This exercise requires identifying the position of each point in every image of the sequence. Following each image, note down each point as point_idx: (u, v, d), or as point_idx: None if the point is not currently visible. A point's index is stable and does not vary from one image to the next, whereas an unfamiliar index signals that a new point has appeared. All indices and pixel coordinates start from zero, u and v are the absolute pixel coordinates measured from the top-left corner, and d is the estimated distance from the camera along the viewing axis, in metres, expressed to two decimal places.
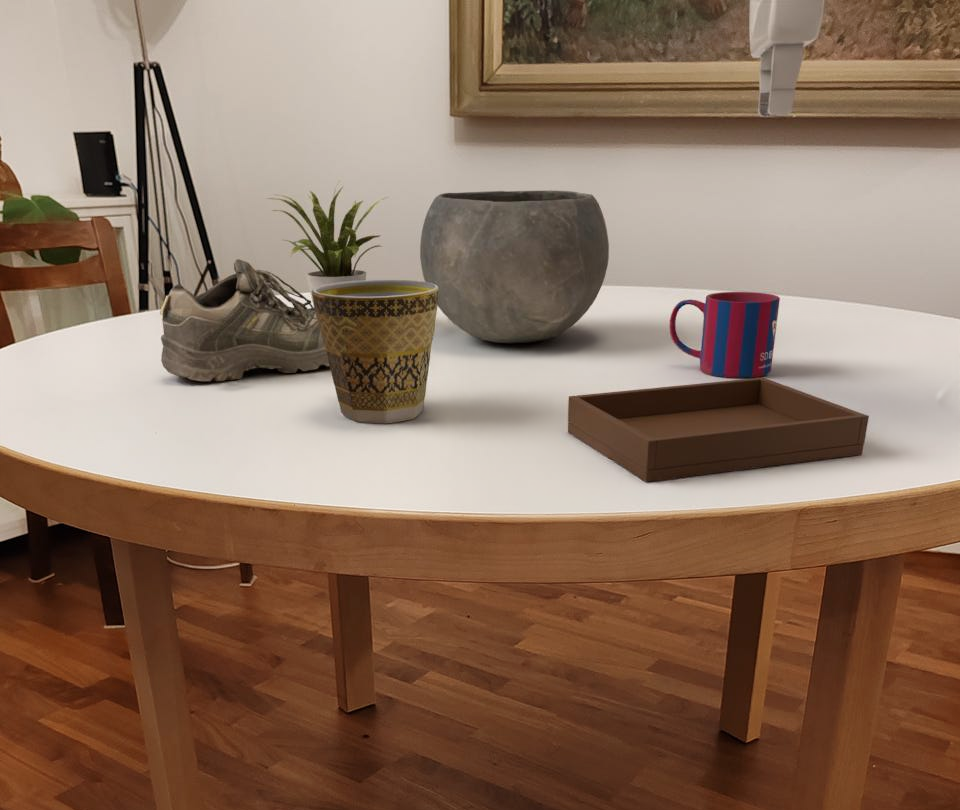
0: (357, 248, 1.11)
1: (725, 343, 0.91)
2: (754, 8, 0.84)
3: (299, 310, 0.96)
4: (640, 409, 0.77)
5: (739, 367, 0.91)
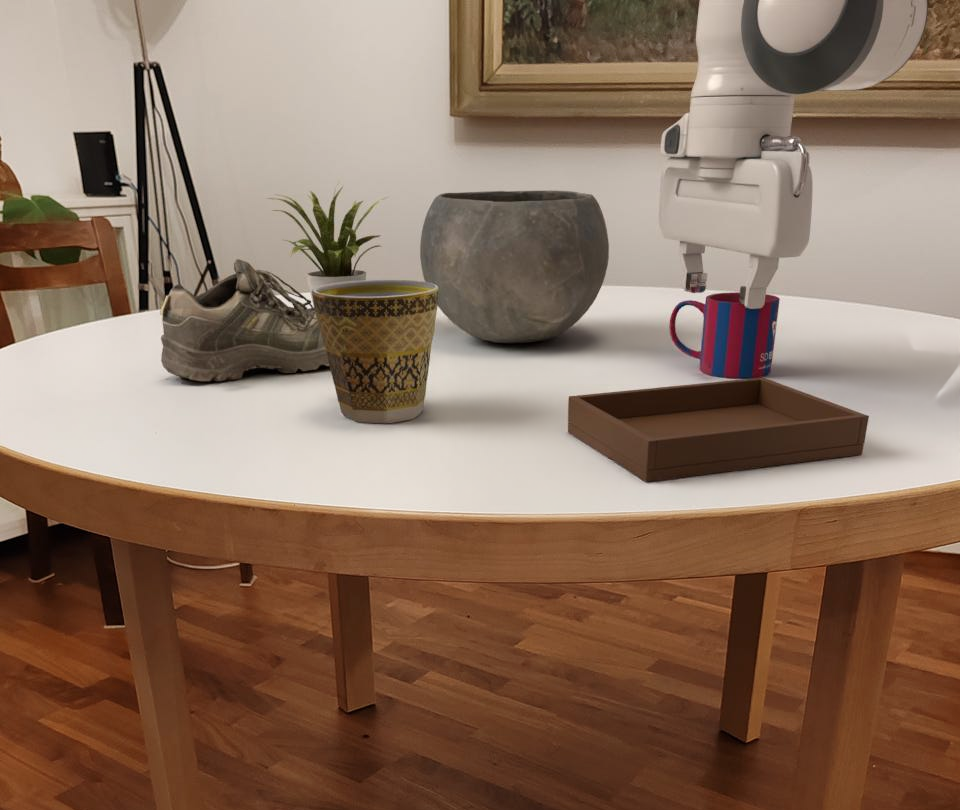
0: (357, 248, 1.11)
1: (725, 344, 0.91)
2: (669, 199, 0.95)
3: (299, 310, 0.96)
4: (640, 409, 0.77)
5: (739, 368, 0.91)
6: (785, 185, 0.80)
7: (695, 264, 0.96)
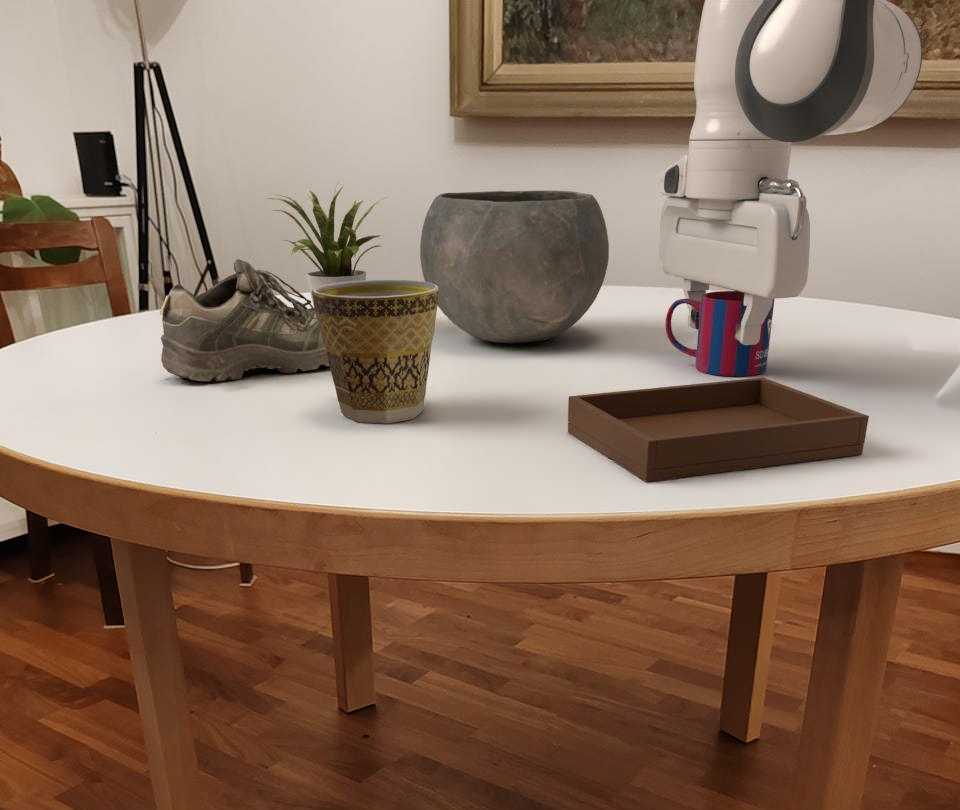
0: (357, 248, 1.11)
1: (721, 342, 0.92)
2: (669, 236, 0.97)
3: (299, 310, 0.96)
4: (640, 409, 0.77)
5: (735, 366, 0.92)
6: (783, 228, 0.81)
7: (699, 301, 0.97)
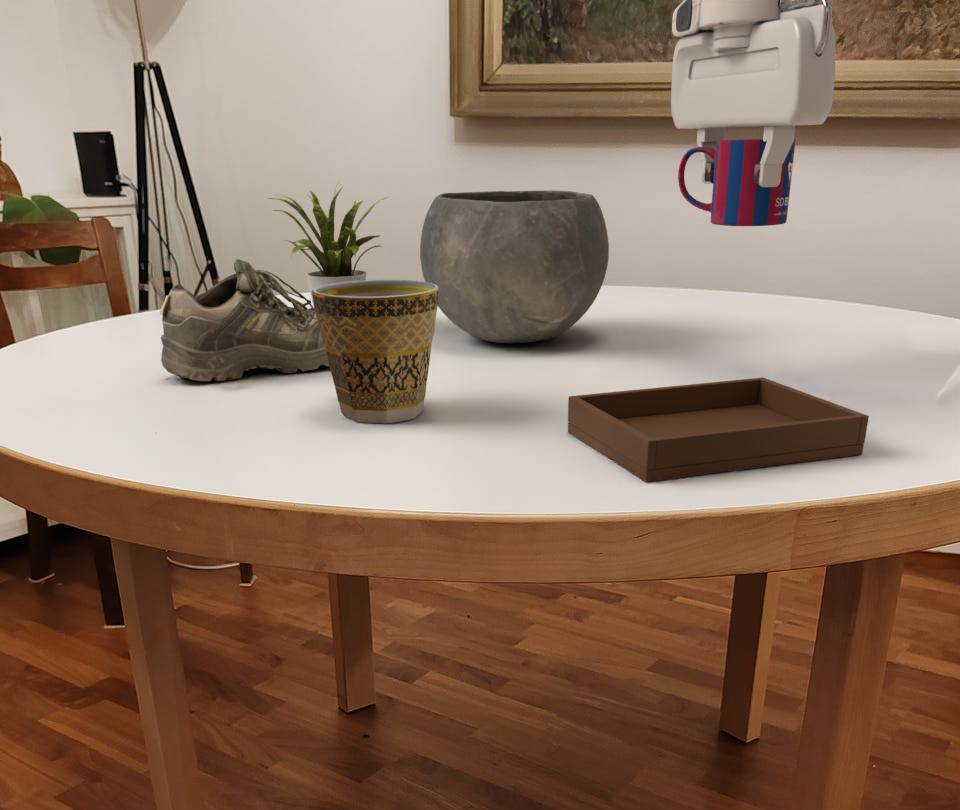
0: (357, 248, 1.11)
1: (738, 187, 0.86)
2: (681, 84, 0.91)
3: (299, 310, 0.96)
4: (640, 409, 0.77)
5: (753, 214, 0.86)
6: (806, 42, 0.75)
7: None
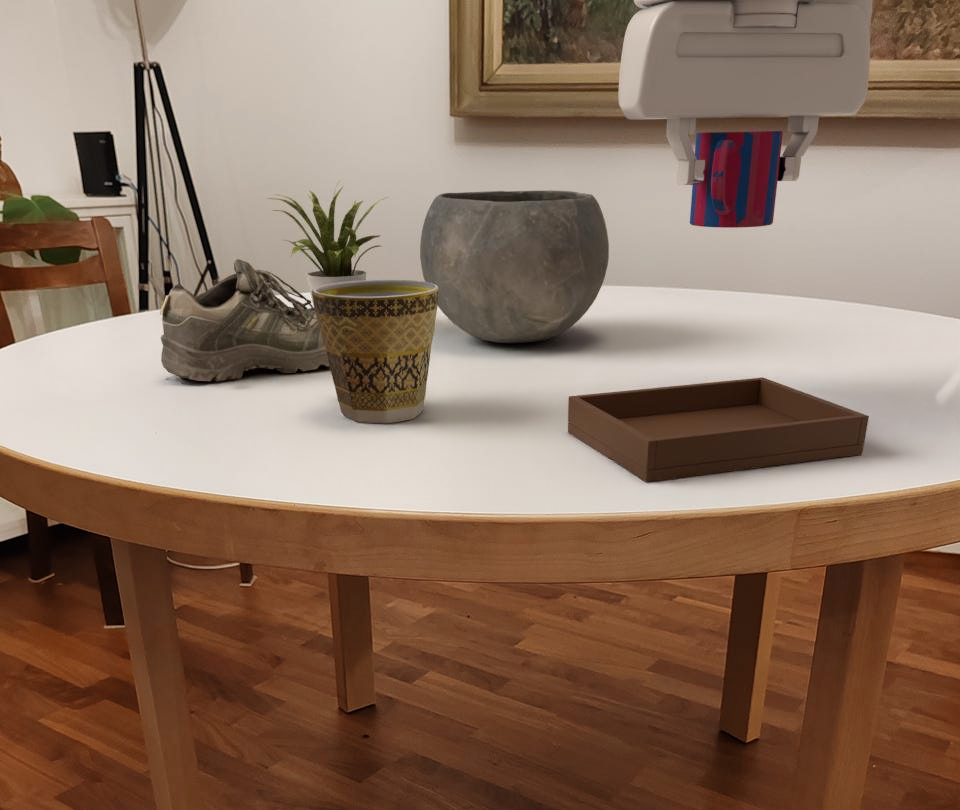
0: (357, 248, 1.11)
1: (774, 183, 0.78)
2: (664, 61, 0.71)
3: (299, 310, 0.96)
4: (640, 409, 0.77)
5: None
6: None
7: None
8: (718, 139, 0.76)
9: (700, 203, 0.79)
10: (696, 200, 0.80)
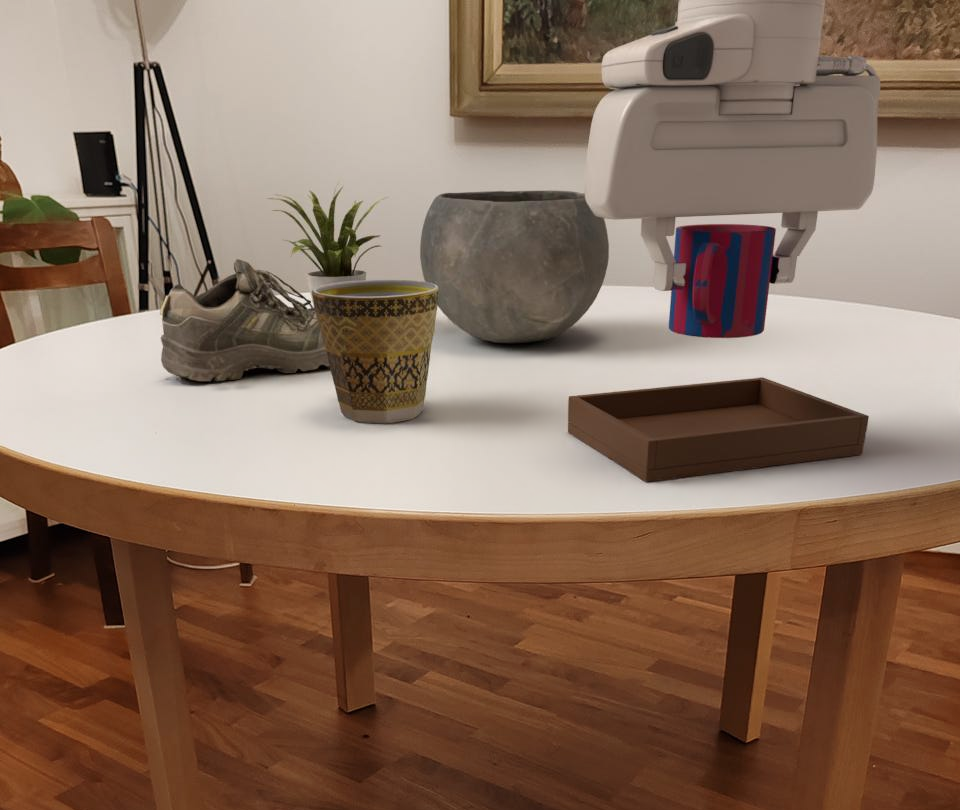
0: (357, 248, 1.11)
1: (766, 287, 0.68)
2: (637, 155, 0.60)
3: (299, 310, 0.96)
4: (640, 409, 0.77)
5: None
6: None
7: None
8: (701, 239, 0.65)
9: (680, 308, 0.68)
10: (676, 304, 0.69)
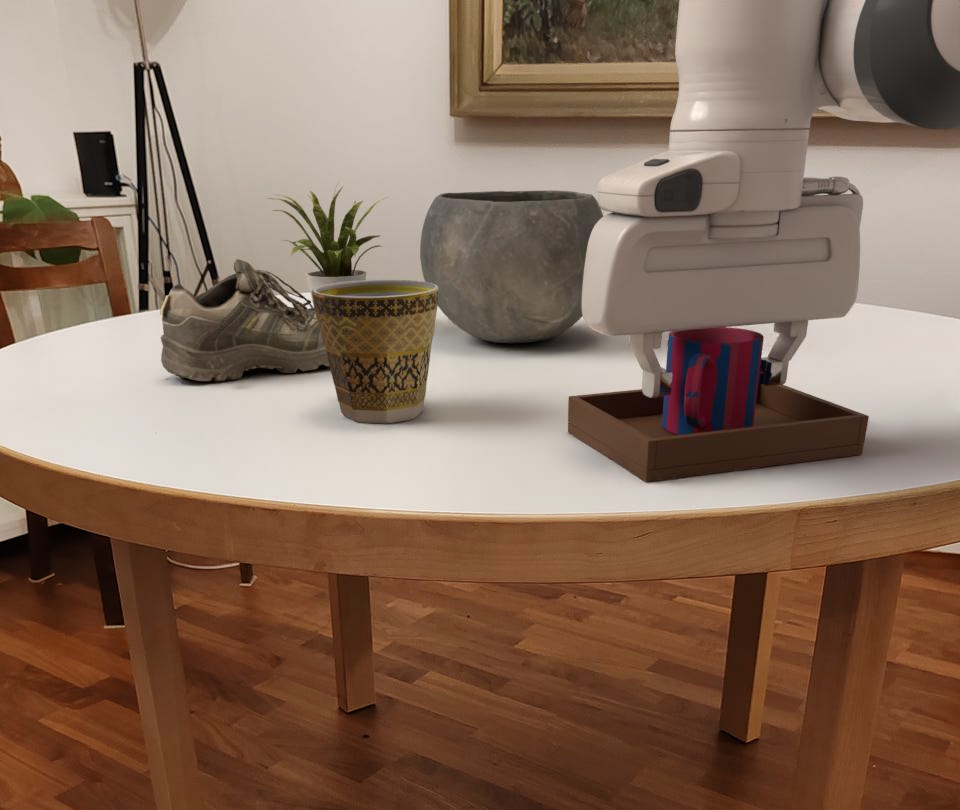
0: (357, 248, 1.11)
1: (754, 391, 0.71)
2: (631, 278, 0.64)
3: (299, 310, 0.96)
4: (640, 409, 0.77)
5: None
6: None
7: None
8: (692, 349, 0.69)
9: (673, 410, 0.72)
10: (668, 406, 0.72)
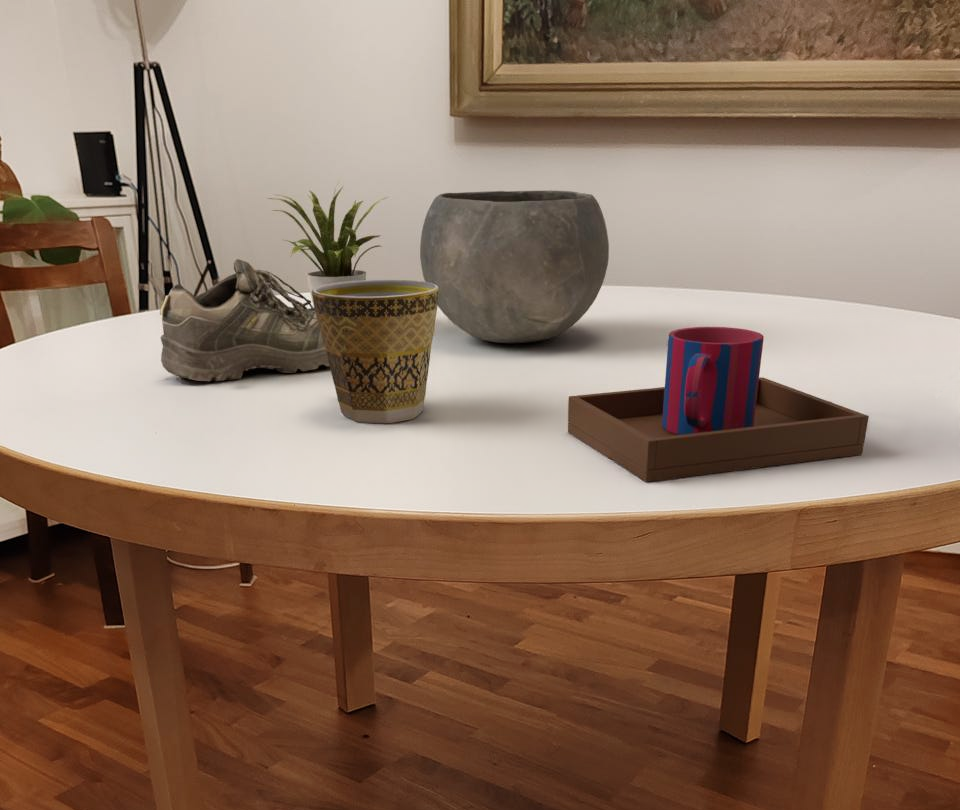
0: (357, 248, 1.11)
1: (754, 391, 0.71)
2: None
3: (299, 310, 0.96)
4: (640, 409, 0.77)
5: None
6: None
7: None
8: (692, 349, 0.69)
9: (673, 410, 0.72)
10: (669, 406, 0.72)
